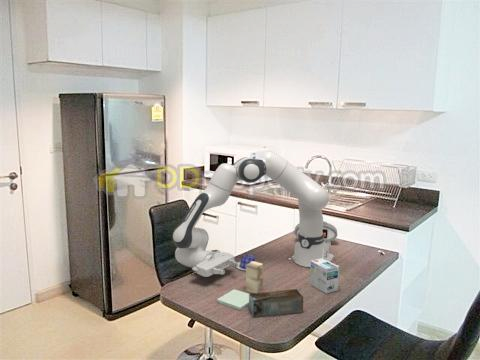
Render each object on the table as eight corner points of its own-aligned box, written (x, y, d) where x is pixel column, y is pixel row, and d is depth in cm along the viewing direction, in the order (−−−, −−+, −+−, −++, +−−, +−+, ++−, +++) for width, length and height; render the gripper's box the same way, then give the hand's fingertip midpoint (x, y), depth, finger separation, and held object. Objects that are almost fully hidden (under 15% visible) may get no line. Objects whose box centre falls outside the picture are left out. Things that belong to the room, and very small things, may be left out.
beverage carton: (247, 307, 151) (248, 291, 150) (296, 303, 155) (297, 287, 153) (252, 318, 143) (253, 300, 142) (304, 313, 147) (304, 296, 146)
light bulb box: (338, 290, 165) (340, 265, 163) (326, 294, 162) (327, 269, 160) (321, 281, 174) (322, 257, 172) (309, 284, 171) (310, 260, 169)
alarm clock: (293, 243, 223) (294, 220, 220) (294, 239, 229) (295, 217, 226) (336, 246, 218) (338, 223, 216) (336, 242, 224) (337, 220, 222)
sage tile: (234, 291, 163) (234, 289, 163) (256, 299, 157) (257, 296, 157) (217, 302, 154) (217, 299, 154) (240, 310, 148) (240, 307, 148)
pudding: (265, 265, 191) (265, 255, 190) (252, 274, 181) (252, 263, 180) (244, 260, 198) (244, 250, 197) (230, 268, 188) (230, 257, 187)
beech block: (252, 286, 169) (252, 261, 167) (262, 289, 166) (263, 263, 164) (245, 290, 164) (246, 264, 163) (256, 293, 162) (256, 267, 160)
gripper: (189, 261, 170) (215, 269, 162) (219, 248, 186) (244, 254, 178) (189, 275, 171) (215, 284, 163) (219, 261, 187) (244, 268, 179)
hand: (230, 268), depth 171 cm, fingers open, 8 cm apart
